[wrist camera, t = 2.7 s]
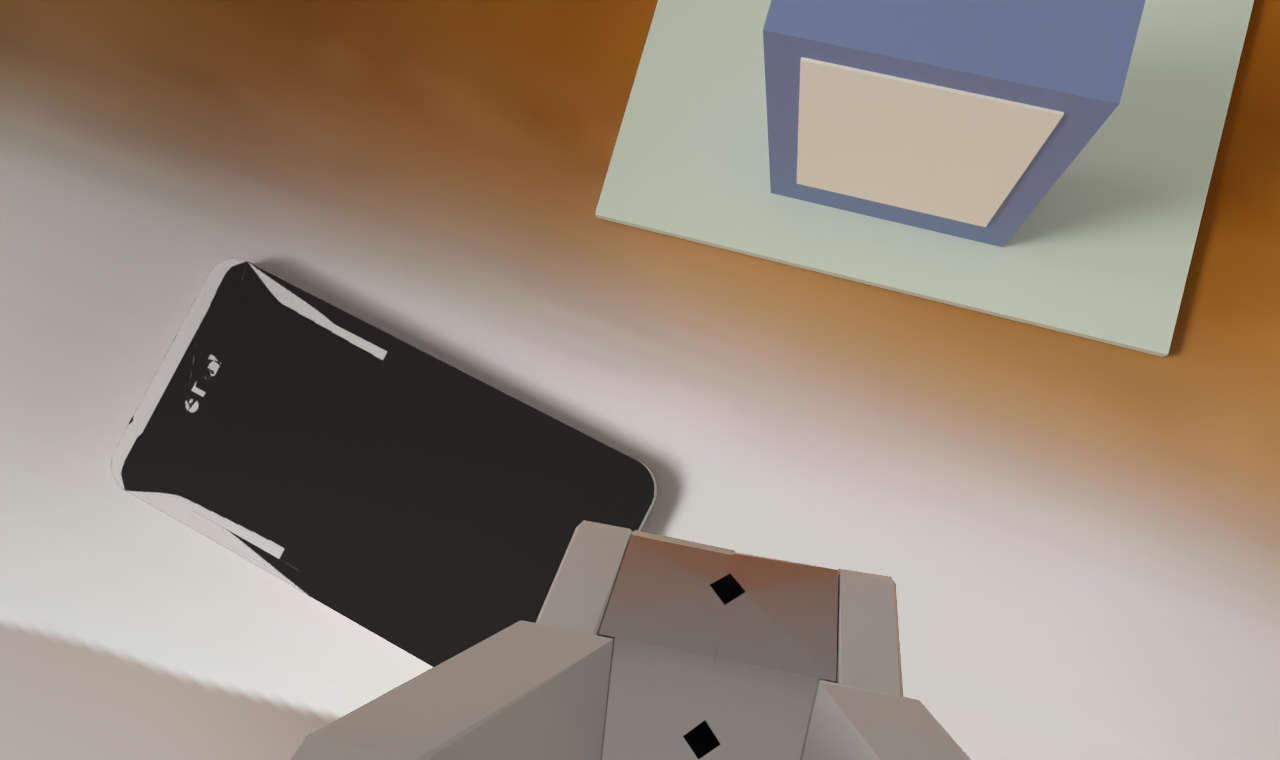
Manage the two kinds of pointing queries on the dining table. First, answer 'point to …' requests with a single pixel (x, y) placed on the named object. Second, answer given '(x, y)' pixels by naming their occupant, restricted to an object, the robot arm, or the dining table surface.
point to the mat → (923, 259)
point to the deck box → (939, 103)
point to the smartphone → (366, 466)
